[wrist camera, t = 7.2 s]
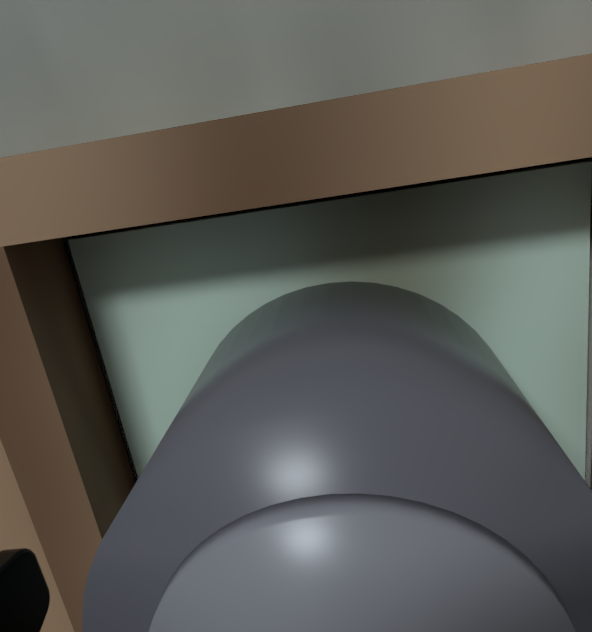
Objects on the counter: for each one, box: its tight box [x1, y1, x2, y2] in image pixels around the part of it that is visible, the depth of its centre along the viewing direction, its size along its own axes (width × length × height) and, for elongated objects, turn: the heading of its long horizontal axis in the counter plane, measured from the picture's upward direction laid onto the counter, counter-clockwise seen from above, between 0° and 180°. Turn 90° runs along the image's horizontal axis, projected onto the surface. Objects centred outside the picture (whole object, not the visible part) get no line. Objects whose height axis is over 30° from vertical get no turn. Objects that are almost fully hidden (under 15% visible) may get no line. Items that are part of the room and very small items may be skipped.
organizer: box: [0, 54, 592, 632], centre depth 10 cm, size 19×11×2 cm, turn 99°
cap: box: [82, 281, 592, 632], centre depth 7 cm, size 6×6×5 cm
